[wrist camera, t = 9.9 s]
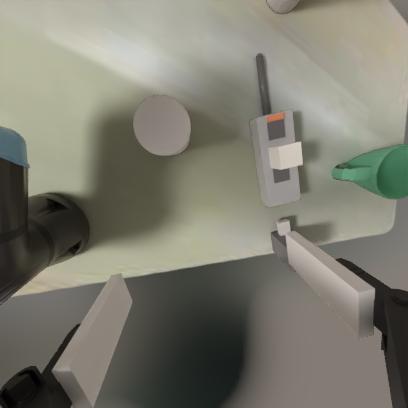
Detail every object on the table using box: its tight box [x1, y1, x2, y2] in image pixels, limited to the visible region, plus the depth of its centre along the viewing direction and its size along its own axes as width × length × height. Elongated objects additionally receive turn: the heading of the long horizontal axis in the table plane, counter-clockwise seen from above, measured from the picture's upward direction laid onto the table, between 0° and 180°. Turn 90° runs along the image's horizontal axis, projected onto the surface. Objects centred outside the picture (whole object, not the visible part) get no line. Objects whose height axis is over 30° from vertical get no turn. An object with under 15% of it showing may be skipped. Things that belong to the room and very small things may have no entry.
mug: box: [332, 144, 408, 199], centre depth 39 cm, size 15×10×10 cm
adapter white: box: [268, 142, 303, 170], centre depth 35 cm, size 4×4×4 cm
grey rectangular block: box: [271, 219, 296, 272], centre depth 42 cm, size 5×8×9 cm, turn 13°
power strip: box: [249, 53, 301, 208], centre depth 38 cm, size 7×29×5 cm, turn 13°
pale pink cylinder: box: [133, 95, 191, 156], centre depth 33 cm, size 8×8×12 cm
